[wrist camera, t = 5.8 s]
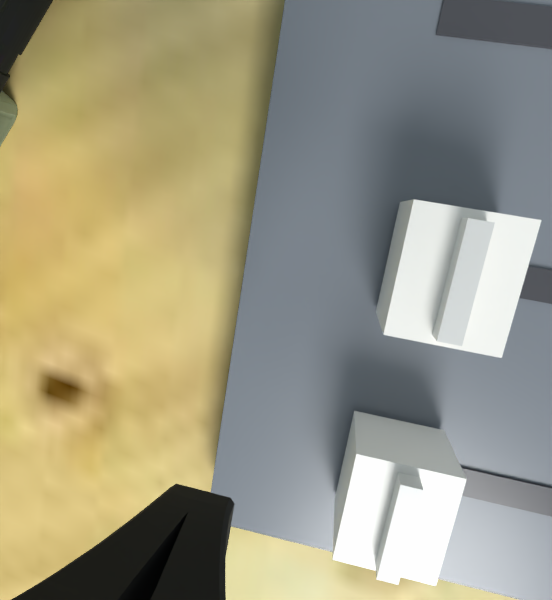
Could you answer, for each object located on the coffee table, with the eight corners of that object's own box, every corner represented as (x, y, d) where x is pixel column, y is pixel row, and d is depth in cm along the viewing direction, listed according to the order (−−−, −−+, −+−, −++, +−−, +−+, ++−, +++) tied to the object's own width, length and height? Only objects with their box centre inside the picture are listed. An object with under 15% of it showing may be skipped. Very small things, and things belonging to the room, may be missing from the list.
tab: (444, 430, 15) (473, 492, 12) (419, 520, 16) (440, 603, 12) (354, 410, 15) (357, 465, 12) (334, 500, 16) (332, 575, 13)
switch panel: (875, -62, 13) (986, -119, 10) (619, 586, 17) (659, 640, 15) (314, -112, 14) (309, -169, 12) (220, 488, 19) (204, 523, 17)
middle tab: (501, 218, 13) (553, 220, 10) (471, 329, 14) (510, 366, 11) (399, 202, 14) (418, 198, 10) (375, 311, 14) (385, 341, 11)
